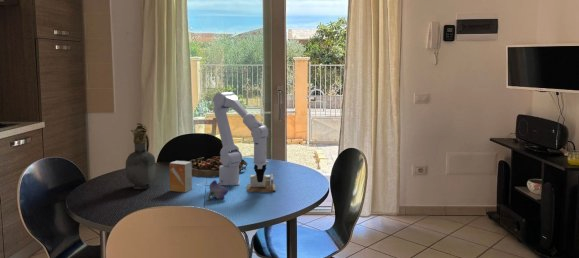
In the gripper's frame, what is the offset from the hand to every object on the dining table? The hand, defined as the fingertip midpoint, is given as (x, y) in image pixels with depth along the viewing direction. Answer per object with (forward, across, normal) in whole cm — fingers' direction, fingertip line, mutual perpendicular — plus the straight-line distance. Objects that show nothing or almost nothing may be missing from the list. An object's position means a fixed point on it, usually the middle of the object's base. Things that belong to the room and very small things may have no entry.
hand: (260, 180), depth 225 cm
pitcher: (+4, +5, +55) cm, 55 cm away
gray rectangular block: (+2, 0, 0) cm, 3 cm away
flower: (+4, -17, +18) cm, 25 cm away
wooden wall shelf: (+4, 0, 0) cm, 4 cm away
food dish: (+4, +40, +25) cm, 47 cm away
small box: (+4, -2, +36) cm, 36 cm away
